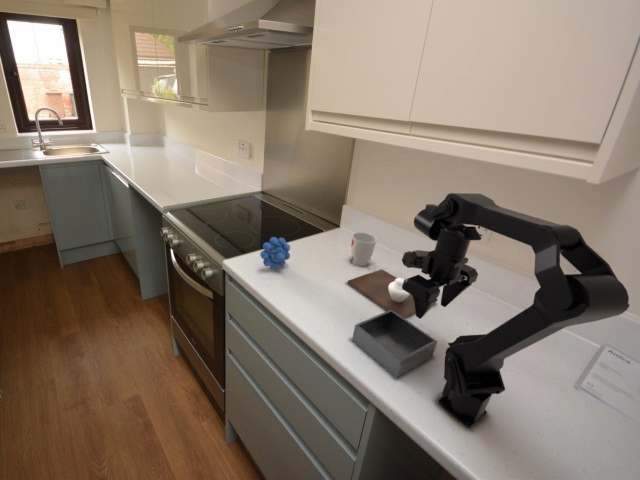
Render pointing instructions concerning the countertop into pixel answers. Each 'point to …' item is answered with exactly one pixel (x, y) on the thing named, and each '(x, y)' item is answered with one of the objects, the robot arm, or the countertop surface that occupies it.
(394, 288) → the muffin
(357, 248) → the cup
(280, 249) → the grapes
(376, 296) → the board
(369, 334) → the dark grey open box
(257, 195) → the countertop surface
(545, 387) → the countertop surface
